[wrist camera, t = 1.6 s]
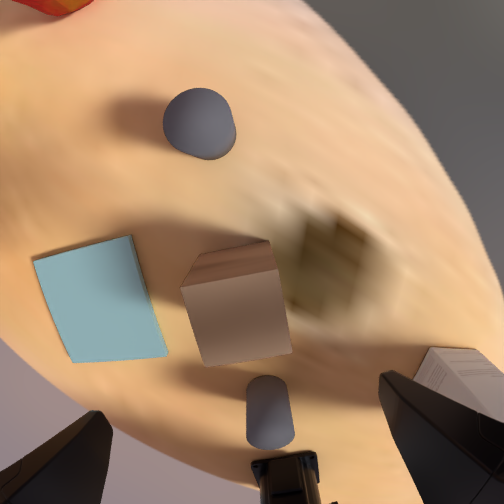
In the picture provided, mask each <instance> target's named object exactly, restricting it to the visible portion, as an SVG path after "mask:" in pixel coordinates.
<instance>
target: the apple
mask: <svg viewBox="0 0 504 504" xmlns="http://www.w3.org/2000/svg"><path fill="white" fill-rule="evenodd" d="M12 1H15V2H18V3H22V4H25V5H27V6H30V7H32V8H34V9H36V10H39V11H41V12H43V13H45V14H47V15H54V16H59V15H63V14H66V13H70V12H73V11H76V10H79V9H81V8H83V7H85V6H87V5H89V4H90V3H91V2H92V1H93V0H12Z"/></svg>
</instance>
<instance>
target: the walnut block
mask: <svg viewBox="0 0 504 504" xmlns="http://www.w3.org/2000/svg"><path fill="white" fill-rule="evenodd" d="M180 289H181V293H182V296H183V300H184V303H185V306H186V310H187V313H188V316H189V319H190V323H191V326H192V329H193V332H194V335H195V338H196V341H197V345H198V348H199V351H200V354H201V357H202V360H203V362H204V365H205V367H212V366H220V365H227V364H234V363H240V362H246V361H252V360H258V359H264V358H270V357H275V356H280V355H286V354H291V353H293V352H292V346H291V340H290V334H289V328H288V323H287V317H286V311H285V305H284V300H283V294H282V288H281V283H280V277H279V272H278V268H277V264H276V261H275V258H274V255H273V252H272V249H271V245H270V242H269V241H265V242H260V243H255V244H250V245H245V246H240V247H235V248H230V249H225V250H220V251H215V252H210V253H205V254H200V255H199V256H198V258H197V260H196V261H195V263H194V265H193V266H192V268H191V270H190V272H189V273H188V275H187V277H186V278H185V280H184V282H183V283H182V285H181V287H180Z"/></svg>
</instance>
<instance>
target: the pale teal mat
mask: <svg viewBox="0 0 504 504" xmlns="http://www.w3.org/2000/svg"><path fill="white" fill-rule="evenodd" d="M33 263H34V266H35V270H36V273H37V276H38V279H39V282H40V285H41V288H42V291H43V294H44V296H45V299H46V302H47V305H48V307H49V310H50V312H51V315H52V317H53V320H54V322H55V325H56V327H57V329H58V332H59V334H60V336H61V339H62V341H63V343H64V345H65V347H66V350H67V352H68V354H69V356H70V358H71V360H72V362H73V363H85V362H106V361H121V360H134V359H146V358H156V357H166V356H167V354H168V350H167V347H166V344H165V342H164V339H163V336H162V333H161V331H160V328H159V325H158V322H157V319H156V316H155V313H154V310H153V307H152V304H151V301H150V298H149V295H148V292H147V289H146V285H145V282H144V279H143V275H142V272H141V269H140V265H139V262H138V258H137V255H136V251H135V247H134V244H133V240H132V236H131V235H128V236H124V237H120V238H116V239H112V240H108V241H104V242H100V243H96V244H92V245H88V246H85V247H81V248H77V249H73V250H70V251H66V252H62V253H59V254H55V255H52V256H48V257H45V258H41V259H38V260H35V261H33Z"/></svg>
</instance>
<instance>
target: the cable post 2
mask: <svg viewBox="0 0 504 504" xmlns="http://www.w3.org/2000/svg"><path fill="white" fill-rule="evenodd" d="M294 436H295V431H294V425H293V419H292V414H291V408H290V402H289V397H288V391H287V386H286V384H285V382H284V381H283V380H282V379H280V378H278V377H275V376H269V375H267V376H260V377H258V378H255V379H254V380H252V381H251V382H250V383H249V384H248V386H247V390H246V438H247V441H248V442H249V443H250V444H251V445H252V446H254V447H256V448H259V449H263V450H274V449H279V448H282V447H284V446H286V445H288V444H289V443H290V442H291V441H292V440H293V438H294Z"/></svg>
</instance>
